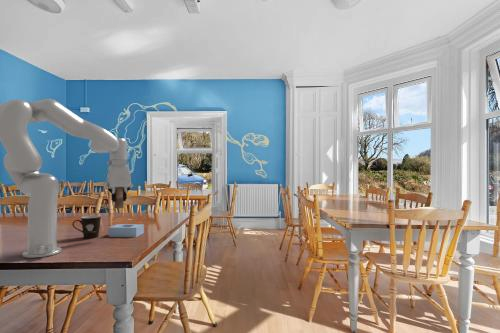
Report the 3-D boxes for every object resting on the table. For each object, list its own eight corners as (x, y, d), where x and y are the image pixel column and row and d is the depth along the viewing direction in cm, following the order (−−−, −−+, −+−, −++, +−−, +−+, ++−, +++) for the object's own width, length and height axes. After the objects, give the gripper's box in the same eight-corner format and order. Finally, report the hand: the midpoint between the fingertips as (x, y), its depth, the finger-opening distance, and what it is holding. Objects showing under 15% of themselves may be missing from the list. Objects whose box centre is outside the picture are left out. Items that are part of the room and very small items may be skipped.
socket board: (143, 233, 157) (143, 224, 157) (136, 236, 148) (136, 227, 148) (117, 232, 158) (117, 224, 158) (108, 236, 149) (108, 227, 149)
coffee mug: (104, 235, 151) (104, 215, 152) (94, 239, 143) (94, 218, 143) (82, 235, 153) (82, 215, 153) (71, 239, 144) (71, 218, 144)
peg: (124, 207, 147) (124, 187, 147) (116, 208, 144) (115, 187, 144) (122, 206, 150) (121, 186, 150) (113, 207, 147) (113, 187, 147)
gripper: (102, 163, 138) (102, 203, 139) (138, 163, 149) (139, 200, 149) (97, 163, 144) (98, 202, 144) (133, 163, 155) (133, 199, 155)
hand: (119, 200), depth 147 cm, fingers closed on peg, 4 cm apart
